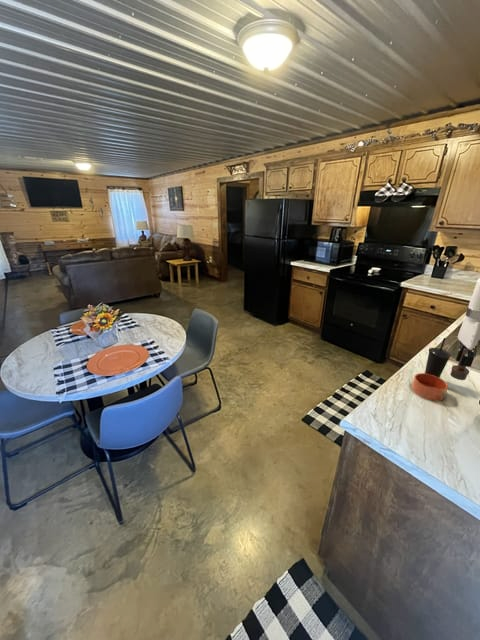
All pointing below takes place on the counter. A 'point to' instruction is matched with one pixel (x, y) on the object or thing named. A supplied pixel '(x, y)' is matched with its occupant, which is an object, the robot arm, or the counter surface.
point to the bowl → (429, 386)
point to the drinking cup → (437, 360)
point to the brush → (460, 370)
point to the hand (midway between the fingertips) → (462, 363)
